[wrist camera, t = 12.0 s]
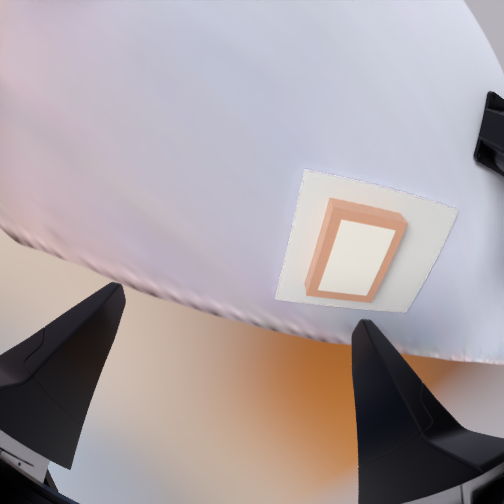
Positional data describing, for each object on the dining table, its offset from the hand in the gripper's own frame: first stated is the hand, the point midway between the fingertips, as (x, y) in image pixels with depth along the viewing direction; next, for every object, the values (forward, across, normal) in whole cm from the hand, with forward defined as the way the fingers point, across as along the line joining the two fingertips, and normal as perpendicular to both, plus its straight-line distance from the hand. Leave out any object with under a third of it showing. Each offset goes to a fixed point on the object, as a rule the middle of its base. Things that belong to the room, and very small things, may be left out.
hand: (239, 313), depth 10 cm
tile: (+11, -11, +4) cm, 16 cm away
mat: (+12, -10, +4) cm, 16 cm away
